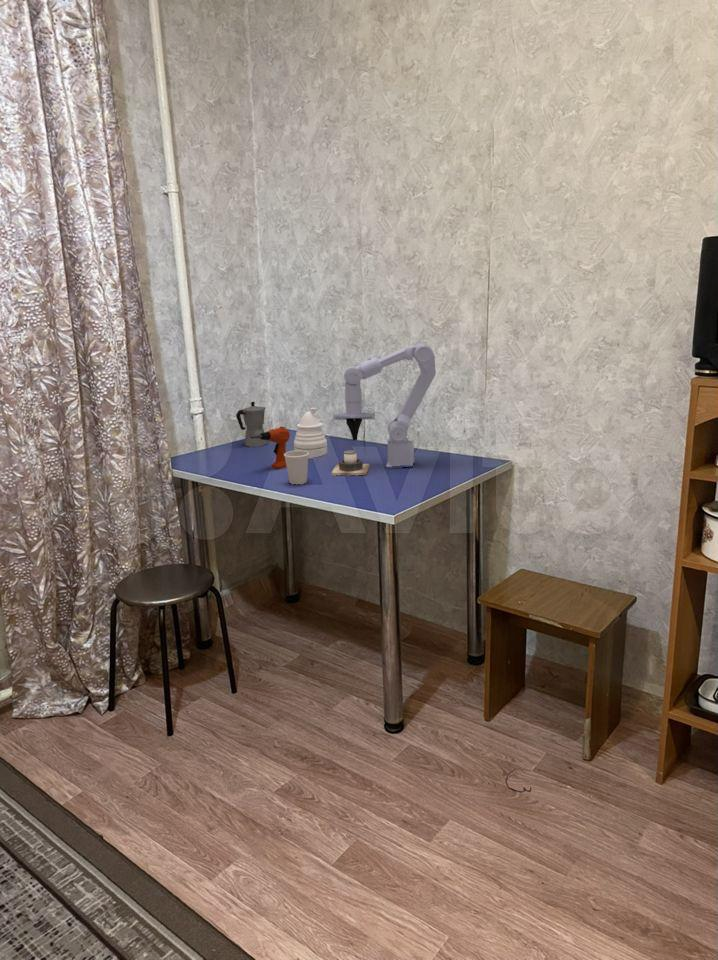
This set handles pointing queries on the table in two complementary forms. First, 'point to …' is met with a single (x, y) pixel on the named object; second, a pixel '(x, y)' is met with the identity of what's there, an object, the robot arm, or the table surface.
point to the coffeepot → (252, 424)
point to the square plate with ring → (350, 468)
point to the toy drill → (280, 438)
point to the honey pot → (310, 435)
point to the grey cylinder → (350, 456)
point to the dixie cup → (297, 466)
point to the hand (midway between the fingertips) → (355, 439)
